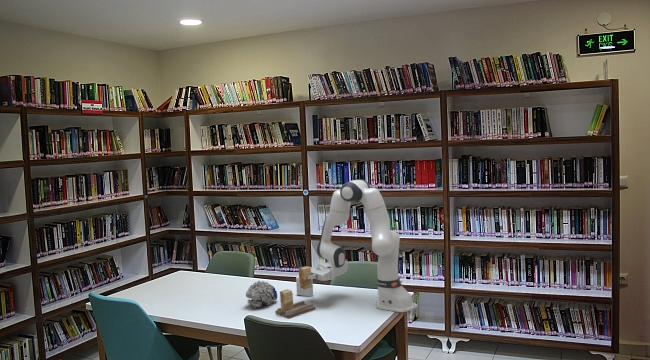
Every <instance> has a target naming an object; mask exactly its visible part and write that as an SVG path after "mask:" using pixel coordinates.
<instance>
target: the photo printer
mask: <svg viewBox="0 0 650 360" xmlns="http://www.w3.org/2000/svg"><path fill="white" fill-rule="evenodd" d="M295 277H296V278H295V280H296V281H295V282H296V294H297V296H303V297H309V298H310V297H311V298H312V297H313V296H314V284H313V283H314V281H313V280H314V279H312V287H310V288H307V289H303V288H300V282H299V274H297V275H296V276H295Z"/></svg>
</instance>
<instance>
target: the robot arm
mask: <svg viewBox="0 0 650 360" xmlns="http://www.w3.org/2000/svg"><path fill="white" fill-rule="evenodd" d="M359 202H361V203H362V205H363V207H364V210H365V214H366V217H367V221H368V223H369V227H370V236H371V249H372V252H373V253H374V254H375V255H376V256H378V257H377V264H376V267H377V269H376V270H377V278H376V280H377V281H376V286H377V297H376V303H375V305H376V309H379V310H386V311H391V312H397V313H405V312H410V311H412V310H415V309H417V307H418V304H417V303H415V302H413V296H412V294H411V293H410V292H408V290H406V288H405V287H404V286H402V284H403V283H404V282H403V280H400V277H399V253H400V242H401V238H400V236H399V234H398V233H397V232H396V231H394V230H391V225H390V224H391V223H390V222H391V220H390V216H389V213H388V210H387V206H386V203H385V200H384V198H383V195H382V194H381V192H380V190H379V189H378V188H376V187H371V186H370V184H369V182H368V181H366V180H364V179H361V178H360V179H354V180H350V181H348V182H345V183H343V184H342V185H341V187H340V189H336V190H335V191H333V192H332V196H331V201H330V207H329V211H328V212H329V213H328V215H326V217H325V218H324V220H323V225H322V230H321V235H320V239H319V241H318V244H317V246H316V253H317V255H318V257H319V258H322V259H324V260H327V261H326V262H323V263H319V264H318V265H317V266H316V267H313V266H310V267H311V275H308V276H306V277H307V278H306V279H313V280H316V281H322V282H326V281H333V280H335V277H338V276H342V275H343V274H345V273H346V272H347V271H348V269H349V263H348V261H347V260H346V250H345V249H344V248H343V247H341V246H340V245H336V244H334V243H332V241H331V239H332V234H333V230H334V229H335V227H336V226H342V225H344V224H346V223H347V222H348V221H349V219H350V211H351V204H352V203H359Z"/></svg>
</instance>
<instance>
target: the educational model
mask: <svg viewBox="0 0 650 360" xmlns="http://www.w3.org/2000/svg"><path fill="white" fill-rule="evenodd" d="M245 297H246V298H248V299H246V300H247V302H246V303H247V304H248V305H249V306H251V307H254V309H256V308H260V307H261V306H263V303H264V304H265V305H266V306H268V307H269V306H270V305H271V304H272V303H273V301H276V300H277V299H278V292H277V290H276V288H275V287H274V285H272V284H271V283H269V282H267V281H266V282H265V281H261V280H258V281H255V282H254V283H253V284H251V285H250V286H249V287H248V289H247V290H246V292H245Z"/></svg>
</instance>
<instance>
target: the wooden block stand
mask: <svg viewBox="0 0 650 360" xmlns="http://www.w3.org/2000/svg"><path fill="white" fill-rule="evenodd" d="M293 295H294V294H293V290H291V289H288V288H287V289H284V290H281V291H279V297H280V298H279V300H280V307H278V308H276V310H275V313H274V314H276V315H278V316H280V317H284V318H287V319H292V318H296V317H299V316H302V315H304V314H307V313H310V312H313V311H315V310H317V309H316V306H314V303H312V302H311V303H308V304H307V303H306V301H305V300H301V301H298V302H294V296H293Z"/></svg>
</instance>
